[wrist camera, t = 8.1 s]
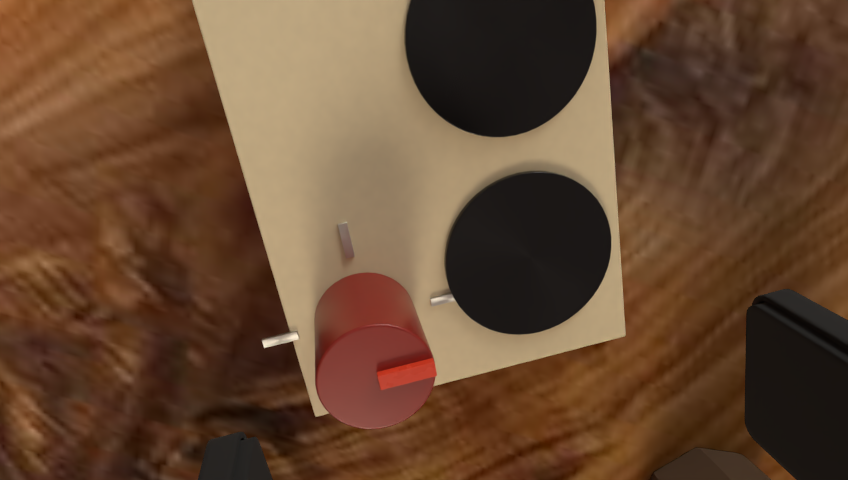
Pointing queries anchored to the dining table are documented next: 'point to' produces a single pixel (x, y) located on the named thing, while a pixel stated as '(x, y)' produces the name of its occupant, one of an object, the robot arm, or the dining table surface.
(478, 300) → the burners
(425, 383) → the hob knob
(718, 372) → the dining table surface
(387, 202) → the hob
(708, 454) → the beer bottle
